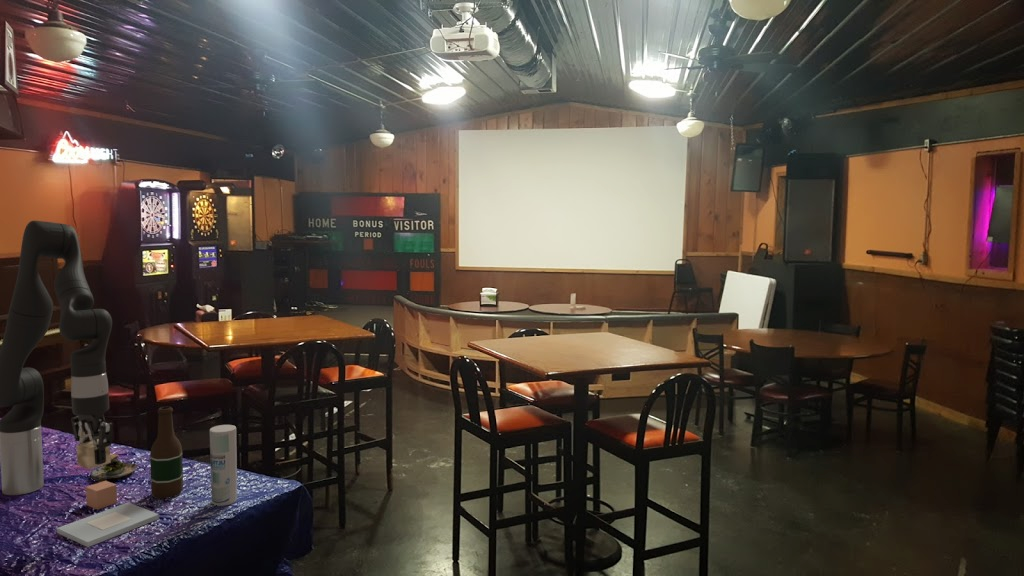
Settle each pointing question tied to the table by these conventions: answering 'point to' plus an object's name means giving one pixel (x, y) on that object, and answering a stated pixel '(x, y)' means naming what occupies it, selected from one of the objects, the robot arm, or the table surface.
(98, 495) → the terracotta block
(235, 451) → the spray can
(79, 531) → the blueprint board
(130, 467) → the burger
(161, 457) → the beer bottle
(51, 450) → the table surface
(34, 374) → the robot arm
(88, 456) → the maple block
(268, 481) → the table surface
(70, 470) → the table surface
